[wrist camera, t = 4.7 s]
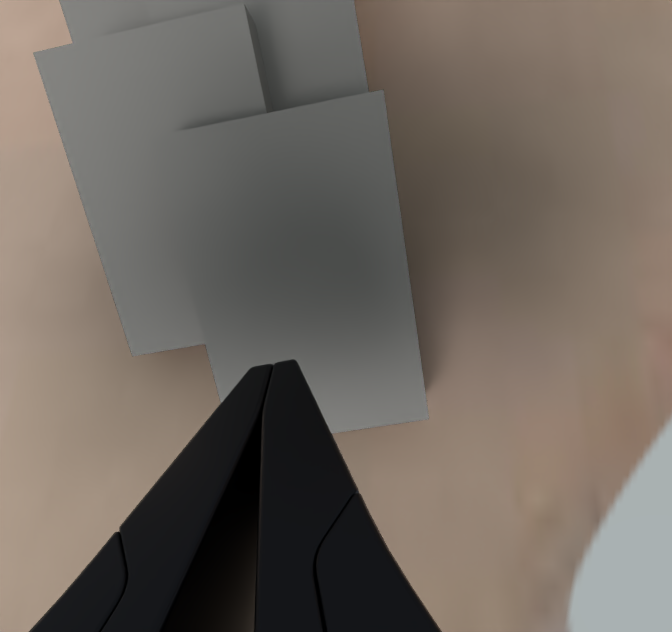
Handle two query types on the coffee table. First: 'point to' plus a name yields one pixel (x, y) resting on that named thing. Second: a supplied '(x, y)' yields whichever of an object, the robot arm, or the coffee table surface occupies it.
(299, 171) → the domino
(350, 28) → the domino
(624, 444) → the coffee table surface
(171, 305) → the domino
